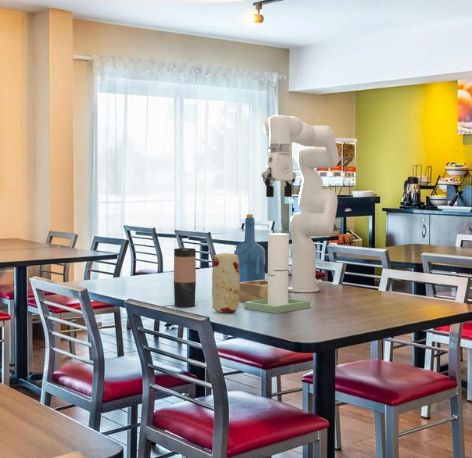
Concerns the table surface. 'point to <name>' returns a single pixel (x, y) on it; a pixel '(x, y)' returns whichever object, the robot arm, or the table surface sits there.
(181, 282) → the travel mug
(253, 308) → the tray
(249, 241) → the wine bottle
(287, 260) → the cylindrical container
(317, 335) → the table surface
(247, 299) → the crate
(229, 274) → the food model
